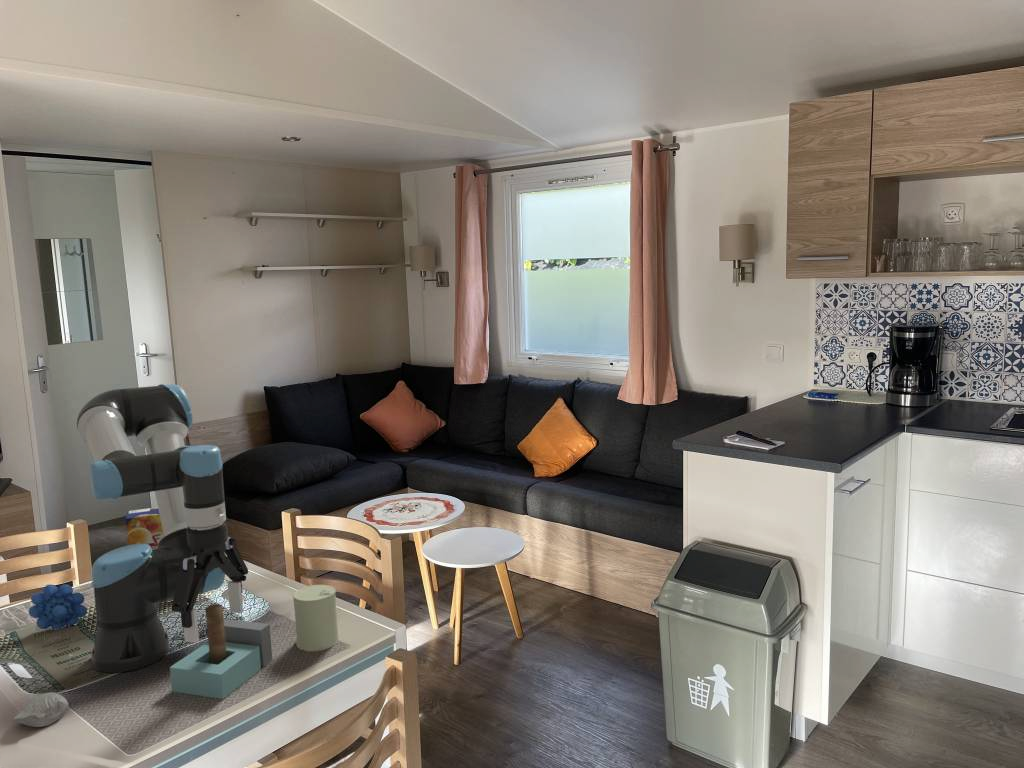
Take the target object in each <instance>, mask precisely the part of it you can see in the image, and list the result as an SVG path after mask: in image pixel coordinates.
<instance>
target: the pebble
mask: <svg viewBox="0 0 1024 768" xmlns="http://www.w3.org/2000/svg"><path fill="white" fill-rule="evenodd" d="M68 708H69V702H68V700H67V699H66V697H65V696H63V695H62V694H59V693H57V692H54V691H53V692H52V691H51V692H49V691H48V692H45V693H42V694H40V695H37V696H36V697H34V699H32V700H31V701H29V703H28V704H27V705H26V706H25V707H24V709H22V711H20V712H19V713H18V714H16V715H15V716H14V717H13V720H12V721H13V723H17V724H23V725H26V726H29V727H33V728H34V727H35V728H41V727H42V728H43V727H46V726H49V725H51V724H52V725H53V723H55V722H56V721H58V720H60V719H62V718H63V716H64V715H65V713H66V711H67V709H68Z"/></svg>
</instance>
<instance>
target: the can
mask: <svg viewBox="0 0 1024 768" xmlns="http://www.w3.org/2000/svg"><path fill="white" fill-rule="evenodd" d="M292 597H293V607H294V609H293V610H294V619H295V621H294V622H295V632H296V633H295V634H296V635H295V636H296V643H295V644H296V647H297V649H299V650H301V651H303V650H304V652H319V651H324V650H328V649H330V648H332V647H334V646H335V645H337V644H338V642H339V641H340V635H339V628H338V617H337V598H336V588H335V586H332V585H328V584H312V585H307V586H303V587H301V588H299V589H297V590H296V591H294V593H293V595H292Z"/></svg>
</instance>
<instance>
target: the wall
mask: <svg viewBox="0 0 1024 768" xmlns="http://www.w3.org/2000/svg"><path fill="white" fill-rule="evenodd" d="M224 629H225V641H226V642H229V643H237V644H245V645H253V646H259V651H260V663H261V667H262V668H264V667H266V666H267V665H268V664H270V663H271V662H272V661H273V653H272V652H273V649H272V641H271V640H272V637H271V636H272V635H271V627H270V623H264V622H263V623H262V622H253V621H245V620H238V619H237V620H236V619H227V618H224Z"/></svg>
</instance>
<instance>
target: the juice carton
mask: <svg viewBox="0 0 1024 768" xmlns="http://www.w3.org/2000/svg"><path fill="white" fill-rule="evenodd" d="M125 524H126V525H125V526H126V534H127V545H132V544H136V545H137V544H148V545H150V547H151V548H152V550H154V549H159V547H158V542H159V540H160V539H161V537H162V536H163V535H164V534H163V529H162V524H161V520H160V515H159V510H158V506H156V507H151V508H150V507H149V508H143V509H142V508H141V509H133V510H128V511H127V513H126V516H125Z"/></svg>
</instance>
